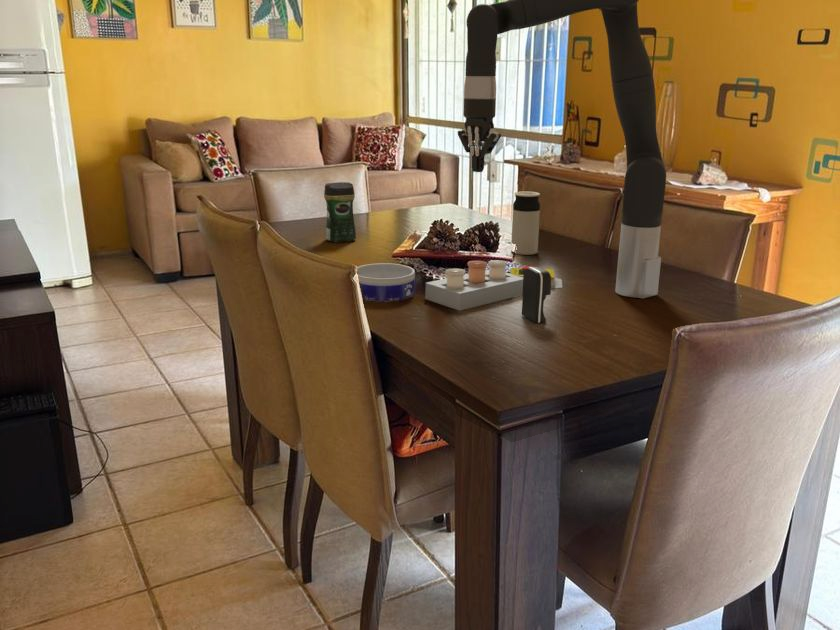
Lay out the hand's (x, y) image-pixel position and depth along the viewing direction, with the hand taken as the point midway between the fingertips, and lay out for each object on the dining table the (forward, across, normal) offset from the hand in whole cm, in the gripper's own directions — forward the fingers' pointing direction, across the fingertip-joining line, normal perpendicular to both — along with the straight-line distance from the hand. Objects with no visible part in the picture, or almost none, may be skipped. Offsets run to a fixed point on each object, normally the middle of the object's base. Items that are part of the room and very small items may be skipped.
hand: (477, 171), depth 183 cm
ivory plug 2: (+28, -6, -2) cm, 29 cm away
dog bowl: (+29, +10, +21) cm, 37 cm away
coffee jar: (+29, +69, -6) cm, 75 cm away
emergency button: (+30, -5, -16) cm, 34 cm away
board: (+29, -6, +5) cm, 30 cm away
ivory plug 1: (+28, -6, +12) cm, 31 cm away
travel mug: (+29, +20, -40) cm, 53 cm away
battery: (+29, -27, +7) cm, 40 cm away
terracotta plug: (+28, -6, +5) cm, 29 cm away
